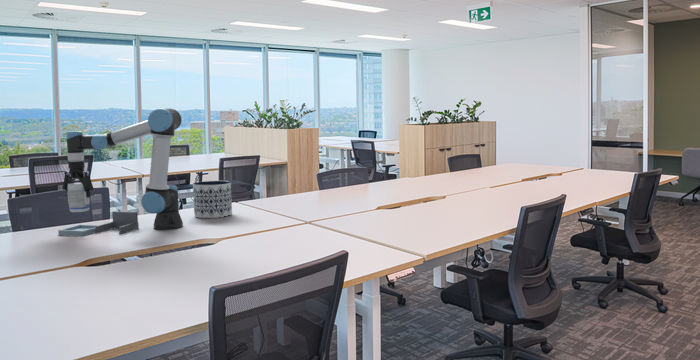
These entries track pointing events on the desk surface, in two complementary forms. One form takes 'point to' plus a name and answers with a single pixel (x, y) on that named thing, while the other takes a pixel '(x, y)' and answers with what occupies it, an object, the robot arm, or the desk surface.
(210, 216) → the planter
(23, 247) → the desk surface
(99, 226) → the bay
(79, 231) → the tray
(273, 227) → the desk surface
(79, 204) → the supplement tub
